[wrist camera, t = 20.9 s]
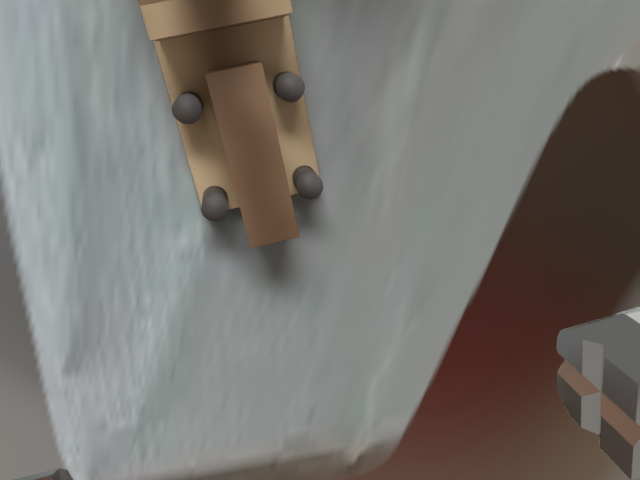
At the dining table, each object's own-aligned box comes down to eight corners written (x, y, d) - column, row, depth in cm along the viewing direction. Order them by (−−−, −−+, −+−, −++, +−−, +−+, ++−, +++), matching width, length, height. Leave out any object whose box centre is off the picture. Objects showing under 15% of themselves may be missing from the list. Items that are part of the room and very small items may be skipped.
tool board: (259, -126, 28) (266, -162, 23) (318, 183, 35) (333, 205, 30) (114, -102, 27) (91, -134, 22) (204, 209, 34) (202, 236, 29)
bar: (256, 60, 30) (261, 62, 26) (290, 213, 34) (299, 236, 30) (207, 70, 30) (204, 74, 26) (246, 223, 34) (250, 248, 30)
